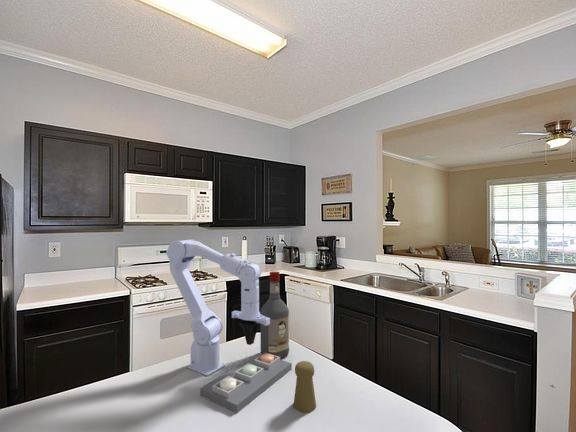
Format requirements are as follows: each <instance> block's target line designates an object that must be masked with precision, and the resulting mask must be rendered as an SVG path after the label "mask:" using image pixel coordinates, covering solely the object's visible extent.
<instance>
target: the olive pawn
mask: <svg viewBox="0 0 576 432" xmlns="http://www.w3.org/2000/svg"><path fill="white" fill-rule="evenodd" d="M294 373H295V376H296V382H295V389H294V390H295V391H294V396H293V397H294V398H293V408H294V410H296V411H297V412H299V413H303V414H304V413H306V414H307V413H311V412H313V411H315V410H316V408H317V402H316V401H317V400H316V394H315V393H316V392H315V387H314V386H315V384H314V381H313V379H314V378H313V377H314V376H315V367H314V364H313V363H312V362H310V361H307V360H301V361H299V362H297V363H296V365H295V367H294Z"/></svg>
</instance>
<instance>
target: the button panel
mask: <svg viewBox="0 0 576 432" xmlns="http://www.w3.org/2000/svg"><path fill="white" fill-rule="evenodd" d="M264 354H268V353H264ZM264 354H261V352H258V353H256V354H254V355H253V356H251V357H250V358H247V360H245V361H243V362H241V363H239V364H238V365H236V366H235V367H233V368H231V369H229V370H227V372H225V373H223V374H221V375H220V376H218V377H216V378H214V379H213V380H211V381H210V382H208V383H206V384H205V385H203V386H202V387H200V388H199V396H201V397H203V398H204V399H207V400H209V401H211V402H213V403H215V404H217V405H220V407H224V408H225V409H228V410H230V411H232V412H233V413H236V414H238V413H239V412H240V411H242V410H243V409H244V408H245V407H246V406H247V407H248V405H249V404H250V403H252V402H253V401H254V400H255V399H256V398H258V397H259V396H260V395H262V394H263V393H264V392H265V391H267V390H268V389H269V388H270V387H272V386H273V385H274V384H276V382H278V381H280V379H281V378H283V377H284V376H285V375H287V373H289V372H290V371H291V370H292V367H293V366H292V365H293V364H292V363H291V362H288V361H285V360H282V359H280V357H278V356H275V355H273V356H274V361H272V362H271V363H269V364H268V363H265V362H262V361H261V356H262V355H264ZM247 365H254V366H256V367H257V372H256V373H255V374H253V375H252V376H248V375H245V374H243V373H242V368H243V367H244V366H247ZM226 378H233V379H235V380H236V387H234V388H233V389H231V390H230V391H226V390H224V389H221V388H220V382H221V381H222V380H224V379H226Z"/></svg>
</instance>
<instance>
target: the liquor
mask: <svg viewBox="0 0 576 432" xmlns="http://www.w3.org/2000/svg"><path fill="white" fill-rule="evenodd" d="M280 279H281V277H280V272H279V271H270V272H269V296H268V297H269V298H268V299H267V301H266V302H264V304H263V306H261V309H260V310H259V312H260V314H261V315H263V316H265V317H268V318H270V324H269V325H267V326H265V325H264V324H260V326H259V328H260V329H259V330H260V354H264V353H268V354H272V355H275V356H278V357H280V360H282V359H284V358H286V357H288V356H289V354H290V353H289V352H290V308H289V306H288V305H287V304H286V303H285V302H284V301H283V300H282V299H281V295H280Z"/></svg>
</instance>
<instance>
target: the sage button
mask: <svg viewBox="0 0 576 432" xmlns="http://www.w3.org/2000/svg"><path fill="white" fill-rule="evenodd" d="M256 372H257V367H256V366H254V365H247V366H244V367H243V368H242V373H243V374H245V375H248V376H252V375H253V374H255V373H256Z"/></svg>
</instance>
